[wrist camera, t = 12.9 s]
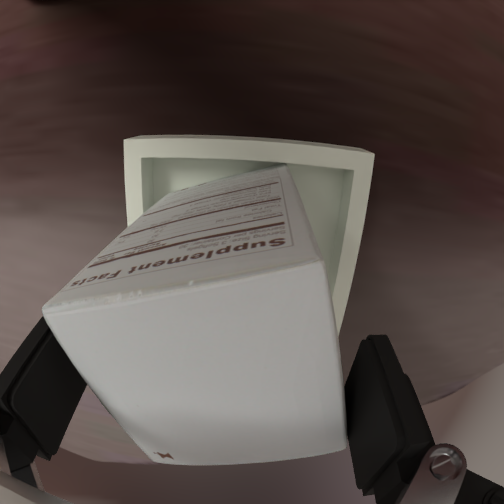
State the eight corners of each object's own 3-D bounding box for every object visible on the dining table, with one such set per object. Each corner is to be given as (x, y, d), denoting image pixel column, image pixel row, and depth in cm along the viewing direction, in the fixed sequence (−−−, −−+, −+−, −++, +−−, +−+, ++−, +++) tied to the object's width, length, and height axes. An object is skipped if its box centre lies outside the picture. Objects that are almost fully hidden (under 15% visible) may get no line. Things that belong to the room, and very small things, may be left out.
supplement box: (312, 274, 20) (350, 455, 8) (200, 295, 21) (147, 466, 10) (289, 158, 17) (335, 257, 6) (164, 189, 18) (29, 313, 7)
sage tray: (140, 135, 17) (123, 139, 15) (361, 148, 17) (374, 153, 15) (152, 317, 23) (142, 338, 20) (328, 330, 23) (333, 353, 20)
